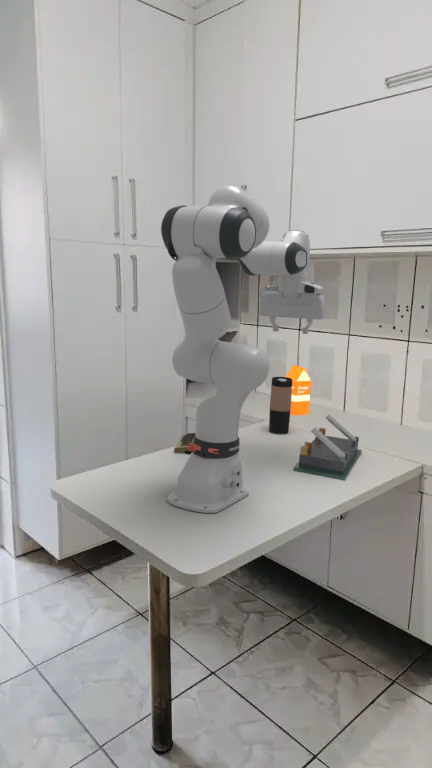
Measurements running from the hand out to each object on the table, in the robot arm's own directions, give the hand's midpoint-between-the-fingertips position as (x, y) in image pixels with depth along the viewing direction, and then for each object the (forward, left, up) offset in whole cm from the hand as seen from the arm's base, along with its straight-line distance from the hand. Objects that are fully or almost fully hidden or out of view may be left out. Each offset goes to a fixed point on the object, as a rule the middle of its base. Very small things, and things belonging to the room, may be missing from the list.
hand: (290, 332), depth 161 cm
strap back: (+10, -16, -31) cm, 36 cm away
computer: (-9, +29, -40) cm, 50 cm away
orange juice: (+56, +12, -39) cm, 69 cm away
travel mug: (+24, +9, -39) cm, 47 cm away
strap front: (-8, -16, -31) cm, 36 cm away
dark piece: (+1, -15, -39) cm, 42 cm away
